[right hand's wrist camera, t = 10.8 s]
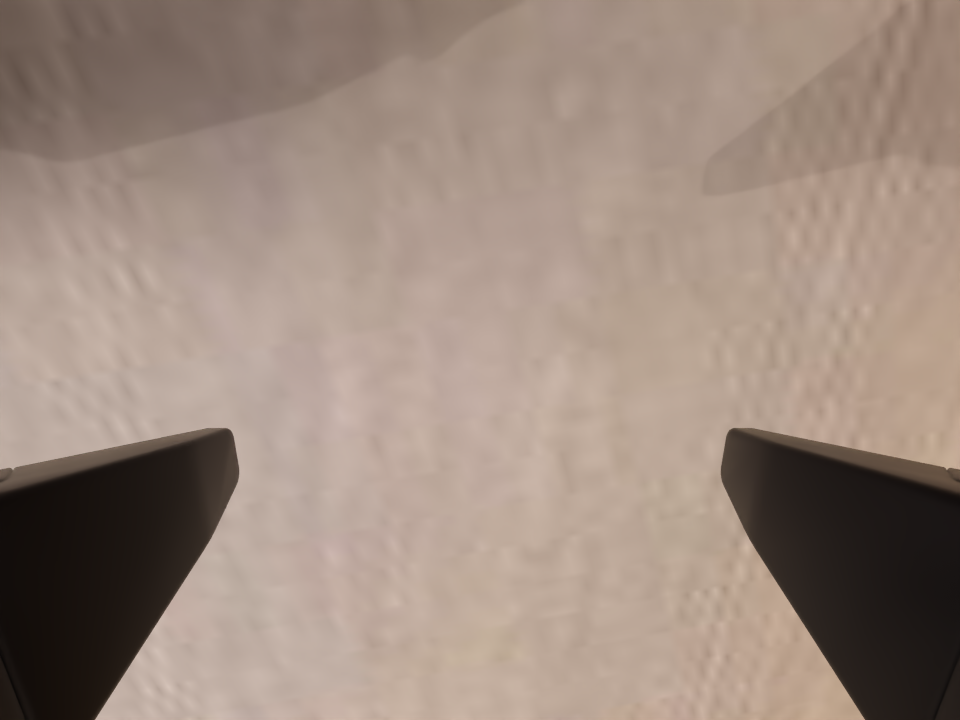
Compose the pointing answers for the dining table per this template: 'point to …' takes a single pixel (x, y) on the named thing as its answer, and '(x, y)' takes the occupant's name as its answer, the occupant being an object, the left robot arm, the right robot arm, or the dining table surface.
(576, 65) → the dining table surface
